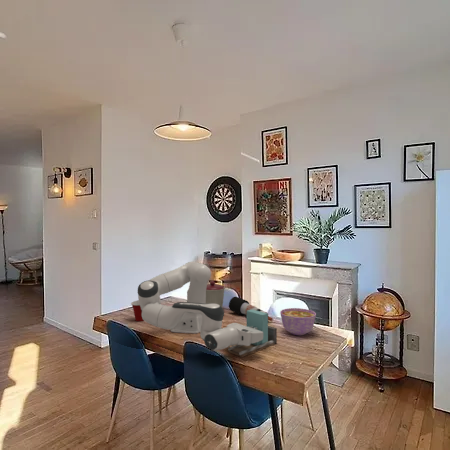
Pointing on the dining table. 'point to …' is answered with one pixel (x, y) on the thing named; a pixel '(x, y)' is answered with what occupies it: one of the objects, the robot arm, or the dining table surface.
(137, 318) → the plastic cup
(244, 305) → the cable
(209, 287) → the canister
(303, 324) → the bowl of food
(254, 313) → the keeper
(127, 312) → the dining table surface
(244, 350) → the rail
